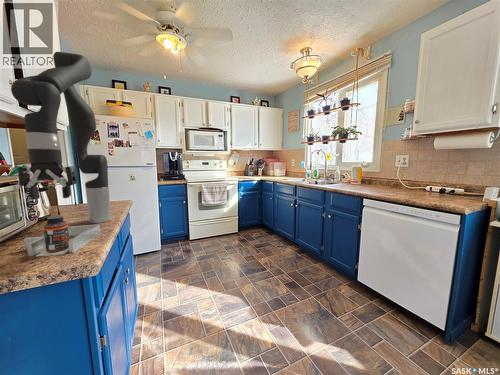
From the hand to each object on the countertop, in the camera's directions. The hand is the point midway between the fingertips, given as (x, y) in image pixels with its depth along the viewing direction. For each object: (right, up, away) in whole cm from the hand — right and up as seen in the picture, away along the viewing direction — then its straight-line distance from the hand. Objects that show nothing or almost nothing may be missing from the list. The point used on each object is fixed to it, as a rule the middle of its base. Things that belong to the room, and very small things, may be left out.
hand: (51, 198), depth 67 cm
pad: (0, -18, +2) cm, 18 cm away
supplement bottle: (0, -18, +2) cm, 18 cm away
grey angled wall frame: (-4, -17, +7) cm, 19 cm away
